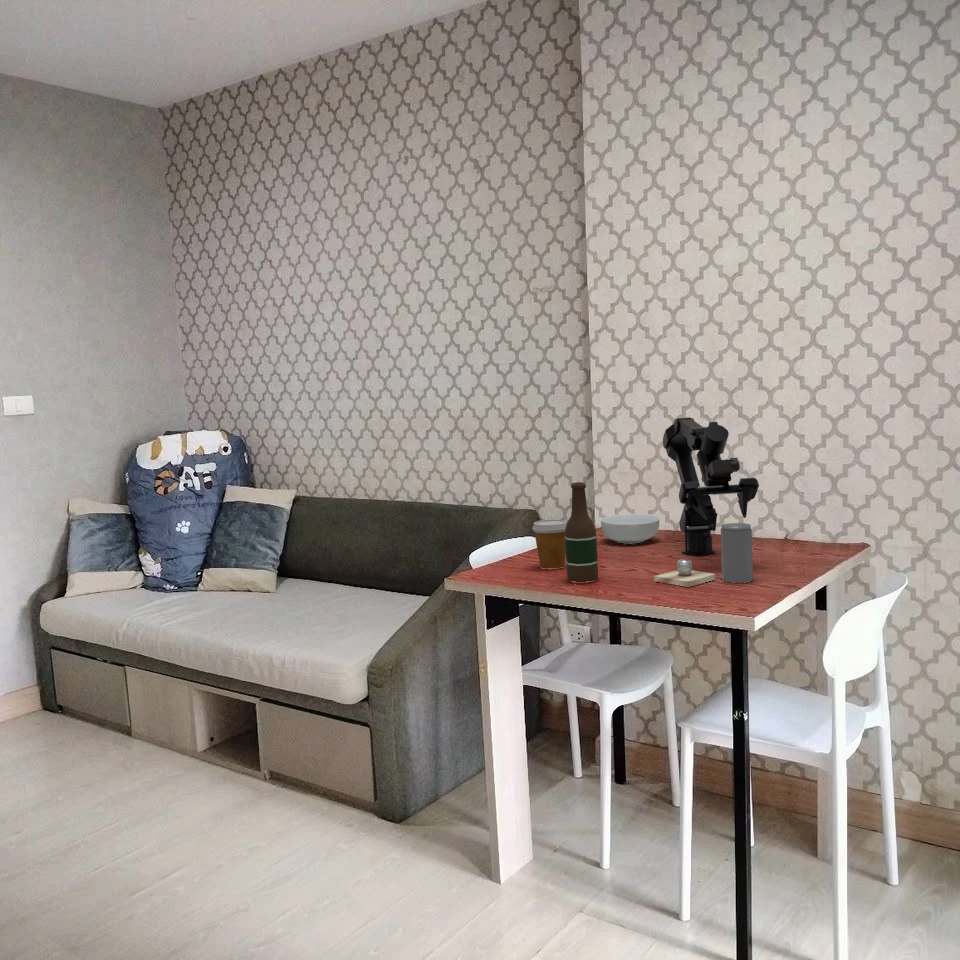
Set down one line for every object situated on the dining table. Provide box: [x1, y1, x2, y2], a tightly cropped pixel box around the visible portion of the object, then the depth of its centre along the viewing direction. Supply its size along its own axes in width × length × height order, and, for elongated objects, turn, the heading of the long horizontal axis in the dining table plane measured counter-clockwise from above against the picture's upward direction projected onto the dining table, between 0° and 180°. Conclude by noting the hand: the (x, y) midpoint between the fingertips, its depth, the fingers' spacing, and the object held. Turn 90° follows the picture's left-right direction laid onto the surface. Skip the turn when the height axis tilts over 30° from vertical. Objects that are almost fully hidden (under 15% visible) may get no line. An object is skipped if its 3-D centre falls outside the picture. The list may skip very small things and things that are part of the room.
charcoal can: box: [720, 522, 754, 584], centre depth 221 cm, size 7×7×13 cm
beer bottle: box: [565, 481, 599, 582], centre depth 229 cm, size 8×8×24 cm
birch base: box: [653, 569, 716, 587], centre depth 224 cm, size 10×10×2 cm
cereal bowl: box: [600, 513, 660, 545], centre depth 276 cm, size 17×17×7 cm
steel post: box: [676, 558, 693, 576], centre depth 224 cm, size 3×3×4 cm
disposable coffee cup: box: [532, 519, 568, 568], centre depth 247 cm, size 10×10×12 cm
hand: (726, 518), depth 228 cm, fingers open, 9 cm apart
